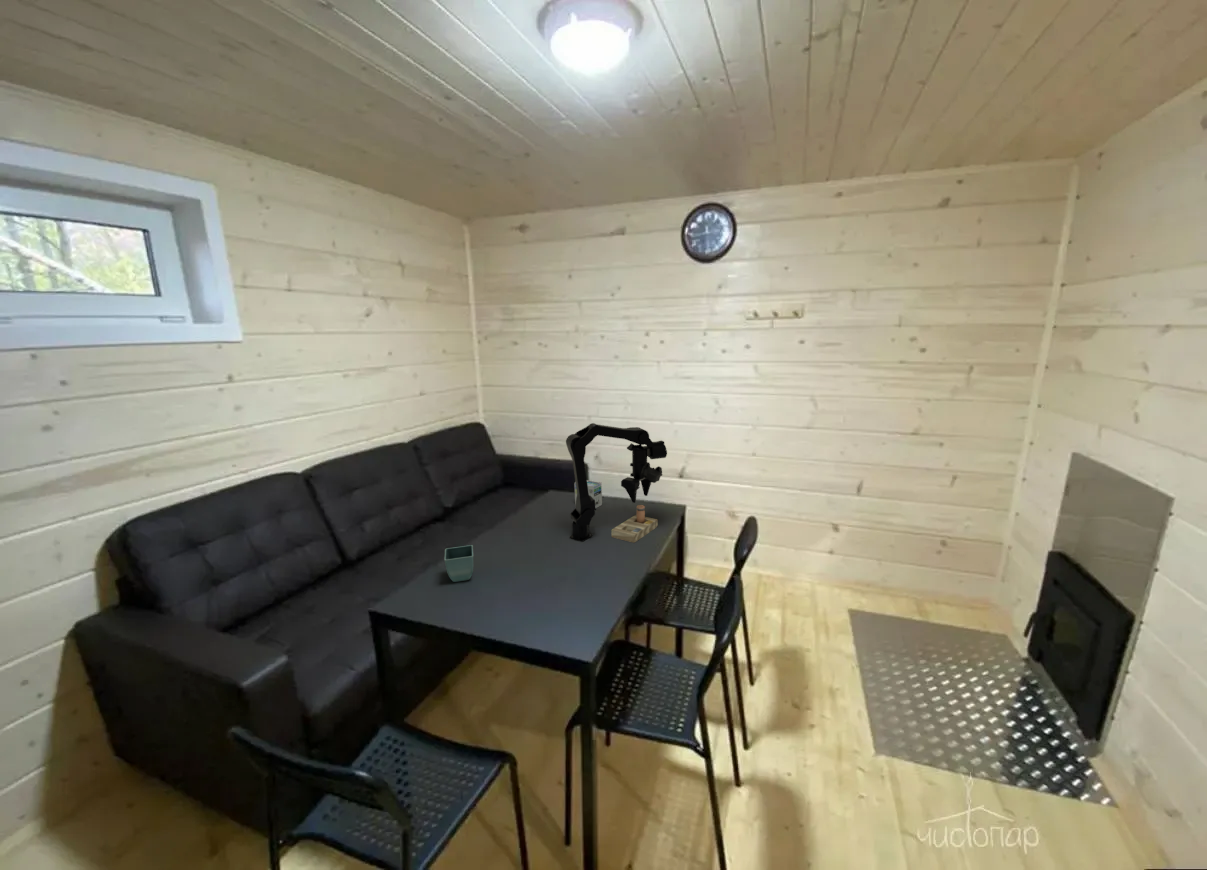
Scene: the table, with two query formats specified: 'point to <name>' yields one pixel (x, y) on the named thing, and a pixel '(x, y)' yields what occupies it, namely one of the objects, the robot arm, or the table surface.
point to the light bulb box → (593, 492)
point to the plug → (640, 514)
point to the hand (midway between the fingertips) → (640, 499)
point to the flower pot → (459, 562)
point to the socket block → (634, 529)
